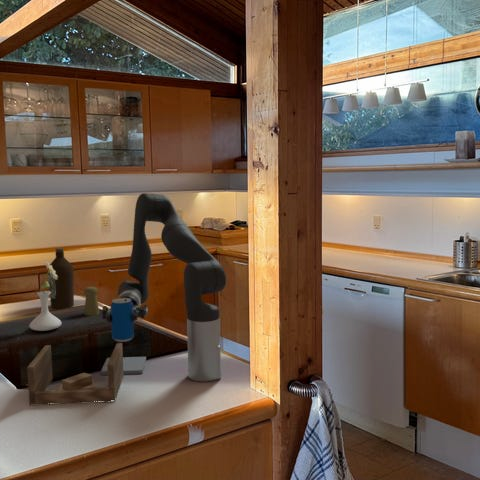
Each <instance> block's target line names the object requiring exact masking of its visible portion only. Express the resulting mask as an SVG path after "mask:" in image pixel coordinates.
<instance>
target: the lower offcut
mask: <svg viewBox="0 0 480 480" xmlns="http://www.w3.org/2000/svg"><path fill="white" fill-rule="evenodd" d="M95 387H96V386H95V381H92V384H91V385H89V386H86V387H83V388H81V389H78V390H86V389H96V388H95ZM59 390H63V388H62V385H59V388H58V391H59Z"/></svg>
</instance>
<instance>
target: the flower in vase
mask: <svg viewBox="0 0 480 480" xmlns="http://www.w3.org/2000/svg"><path fill="white" fill-rule="evenodd" d="M44 264H45V267H46V269H47V273H46V275H45V278H44V280H43V284H42V285H41V286H40V287H39V288H40V289H41V290H42V291H38V292H36V295H37V296H38V298H39V301H40V305H41V308H40V309H41V312H40V313H39V314H38V315H37V316H36V317H35V318H34V319H33V320H32V321H31V322H30V323H29V328H30V329H31V330H33V331H38V332H45V331H51V330H52V331H53V330H55V329H58V328H60V327H61V326H62V323H63V322H62V321H61V320H60V319H59V318H58V317H56V316H55V315H54V314H52V313H51V312H50V311H49V306H48V304H49V303H48V301H49V298H50V293H51V292H50V291H49V290H47V291H46V290H45V289H46V288H49V286H50V285H49V281H48V280H46V279H47V278H48V273H50V274H51V276H52V277H53V278H54V279H56V280H57V277H58V276H57V275H56V274H55V273H56V271H55V270H53V268H52V265H50V263H49V261H44Z"/></svg>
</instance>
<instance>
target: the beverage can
mask: <svg viewBox="0 0 480 480" xmlns="http://www.w3.org/2000/svg"><path fill="white" fill-rule="evenodd" d="M110 308H111V322H110V323H111V324H110V325H111V339H112V340H114V341H115V342H117V343H123V342H130V341H131V340H132V339H133V338H134V337H135V333H134V332H135V329H134V328H135V327H134V322H132V314H133V303H132V302H131V299H130V298H118V297H117V298H113V299H112V300H111V303H110Z"/></svg>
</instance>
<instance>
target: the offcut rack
mask: <svg viewBox="0 0 480 480" xmlns="http://www.w3.org/2000/svg"><path fill="white" fill-rule="evenodd" d="M123 357H124V355H123V342H117V343H116V344H115V347H114V349H113V351H112V353H111V355H110V357H109V358H110V360H109V362H108V364H107V370H108V375H107V388H95V389H86V390H59V389H58V390H47V388H48V387H49V385H50V384H51V382H52V381H53V363H52V361H53V360H52V346H51V344H49V345H44V346H43V348H41V350H40V352H38V354H37V355H36V356H35V357H34V358H33V360H32V361H31V362H30V363H29V365H28V366H27V368H26V370H27V385H28V400H29V401H28V403H29V406H32V405H31V404H43V405H51V404H50V403H70V404H82V403H81V402H94V401H95V402H96V401H97V402H96V403H99V402H98V401H111V400H115V398H116V399H117V397H118V394H119V391H120V388H121V385H122V382H123V380H124V377H125V376H124V374H123ZM118 390H119V391H118ZM117 393H118V394H117ZM116 396H117V397H116ZM115 401H116V400H115ZM77 402H78V403H77ZM79 402H80V403H79ZM48 403H49V404H48Z"/></svg>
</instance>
